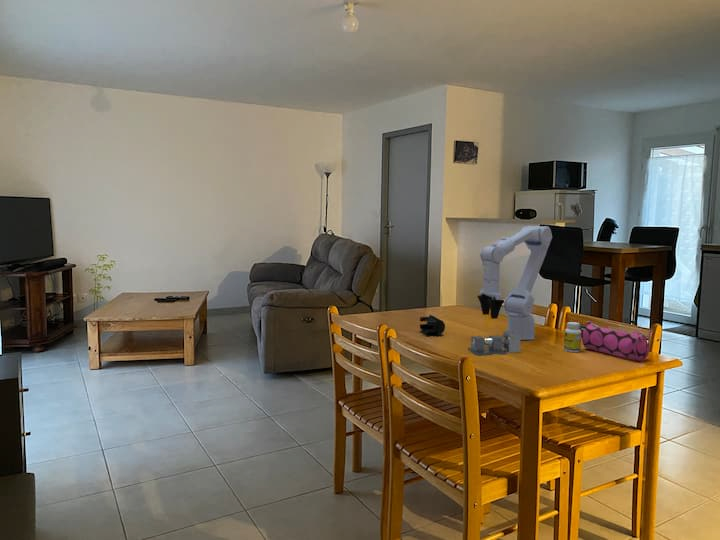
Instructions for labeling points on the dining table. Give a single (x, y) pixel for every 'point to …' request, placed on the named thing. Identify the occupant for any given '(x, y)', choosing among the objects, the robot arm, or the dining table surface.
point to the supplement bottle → (572, 337)
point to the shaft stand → (492, 341)
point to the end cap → (432, 326)
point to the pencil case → (615, 342)
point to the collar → (512, 341)
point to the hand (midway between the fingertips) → (489, 316)
